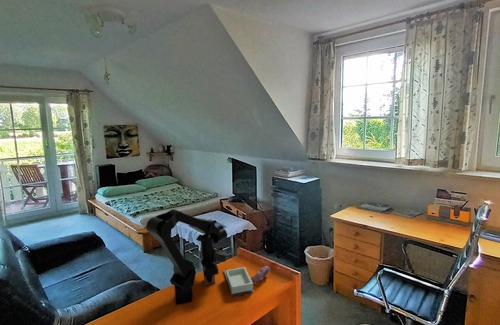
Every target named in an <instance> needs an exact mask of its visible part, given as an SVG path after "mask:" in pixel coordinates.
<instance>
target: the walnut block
mask: <svg viewBox="0 0 500 325" xmlns="http://www.w3.org/2000/svg"><path fill="white" fill-rule="evenodd" d="M203 281H204V285H205V286H208V285H214V284H216V275H213V277H212V282H210V283H209V282H208V280H207V278H206V276H204V275H203Z"/></svg>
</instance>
